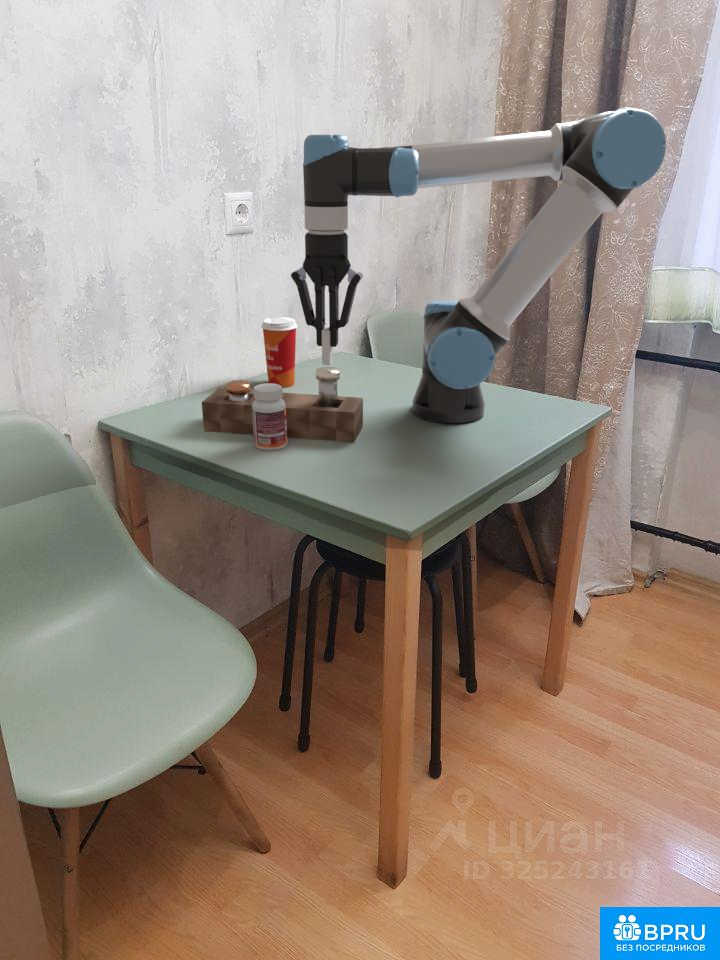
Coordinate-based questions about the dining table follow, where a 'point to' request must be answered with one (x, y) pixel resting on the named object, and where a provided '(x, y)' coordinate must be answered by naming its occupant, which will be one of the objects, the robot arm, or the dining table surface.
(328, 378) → the knob
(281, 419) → the pill bottle
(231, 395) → the knob
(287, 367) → the coffee cup
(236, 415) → the brown wooden long block
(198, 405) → the dining table surface
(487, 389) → the dining table surface
